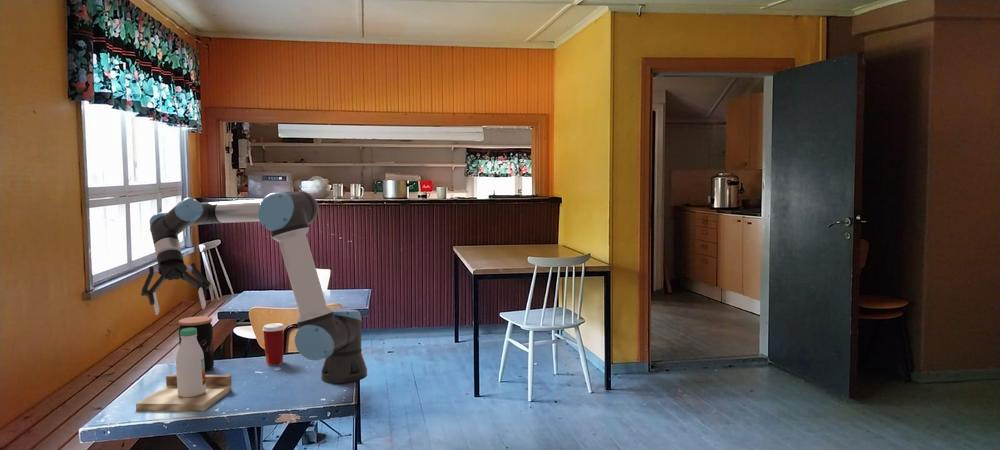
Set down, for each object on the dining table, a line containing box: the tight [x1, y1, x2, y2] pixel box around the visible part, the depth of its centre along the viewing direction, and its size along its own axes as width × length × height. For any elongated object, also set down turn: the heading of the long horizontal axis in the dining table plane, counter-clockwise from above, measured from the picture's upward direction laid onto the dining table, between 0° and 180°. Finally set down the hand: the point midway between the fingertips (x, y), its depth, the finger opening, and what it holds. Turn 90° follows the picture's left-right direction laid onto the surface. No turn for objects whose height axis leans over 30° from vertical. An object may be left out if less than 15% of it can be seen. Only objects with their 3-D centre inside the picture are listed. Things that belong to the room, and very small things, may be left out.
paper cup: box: [262, 322, 286, 366], centre depth 233 cm, size 8×8×14 cm
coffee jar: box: [178, 315, 215, 373], centre depth 225 cm, size 11×11×18 cm
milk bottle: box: [175, 328, 206, 397], centre depth 194 cm, size 8×8×20 cm
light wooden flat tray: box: [135, 373, 233, 412], centre depth 195 cm, size 20×18×5 cm
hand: (181, 309), depth 203 cm, fingers open, 13 cm apart
